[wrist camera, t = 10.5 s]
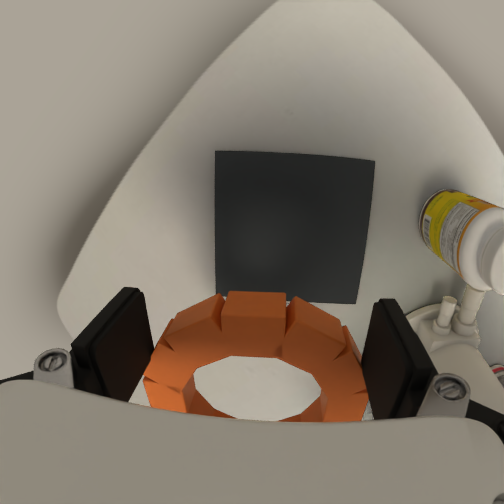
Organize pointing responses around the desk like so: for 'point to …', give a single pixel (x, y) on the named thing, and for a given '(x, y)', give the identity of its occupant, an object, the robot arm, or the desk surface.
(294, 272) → the mat
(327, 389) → the ring
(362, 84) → the desk surface
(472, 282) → the supplement bottle
